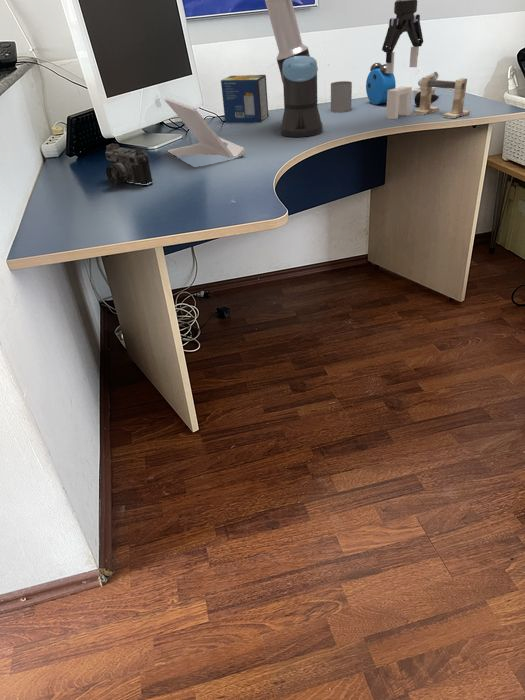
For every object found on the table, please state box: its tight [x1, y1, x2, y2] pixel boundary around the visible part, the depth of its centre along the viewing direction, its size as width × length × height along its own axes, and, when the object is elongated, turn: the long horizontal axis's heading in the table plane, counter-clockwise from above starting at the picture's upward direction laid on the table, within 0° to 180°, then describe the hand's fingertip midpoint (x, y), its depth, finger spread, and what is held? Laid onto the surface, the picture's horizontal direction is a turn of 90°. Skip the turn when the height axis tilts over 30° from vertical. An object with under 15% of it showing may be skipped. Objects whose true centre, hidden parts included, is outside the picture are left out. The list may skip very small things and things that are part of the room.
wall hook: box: [413, 71, 440, 97], centre depth 223 cm, size 9×10×10 cm
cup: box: [330, 80, 353, 113], centre depth 212 cm, size 8×8×10 cm
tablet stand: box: [164, 97, 246, 158], centre depth 169 cm, size 18×25×17 cm
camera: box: [105, 143, 153, 185], centre depth 150 cm, size 18×9×10 cm, turn 51°
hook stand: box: [411, 75, 471, 119], centre depth 193 cm, size 10×18×12 cm, turn 41°
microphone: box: [413, 92, 439, 107], centre depth 214 cm, size 6×6×20 cm
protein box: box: [220, 74, 269, 123], centre depth 209 cm, size 10×15×16 cm
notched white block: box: [385, 85, 413, 120], centre depth 196 cm, size 9×4×10 cm, turn 131°
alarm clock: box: [365, 62, 397, 105], centre depth 215 cm, size 13×6×15 cm, turn 24°
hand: (401, 70), depth 189 cm, fingers open, 13 cm apart
